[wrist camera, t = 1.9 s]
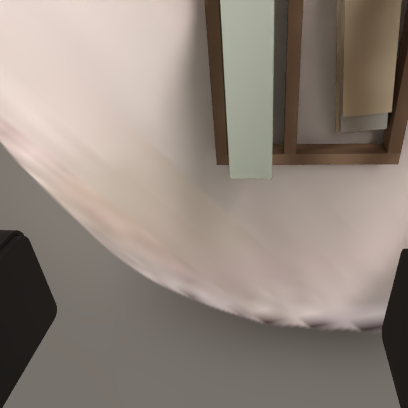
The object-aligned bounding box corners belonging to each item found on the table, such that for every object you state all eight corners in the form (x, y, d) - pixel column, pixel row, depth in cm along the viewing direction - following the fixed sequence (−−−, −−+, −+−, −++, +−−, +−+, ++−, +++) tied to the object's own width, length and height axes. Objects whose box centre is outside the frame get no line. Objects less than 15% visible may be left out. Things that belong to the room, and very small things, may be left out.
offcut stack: (398, -73, 26) (411, -75, 24) (383, 122, 34) (392, 136, 31) (336, -61, 27) (343, -61, 25) (335, 127, 34) (339, 141, 32)
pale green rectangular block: (275, -57, 27) (274, -57, 20) (272, 128, 35) (271, 178, 28) (233, -53, 28) (217, -51, 21) (239, 129, 36) (230, 178, 28)
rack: (447, -123, 24) (460, -128, 23) (392, 153, 35) (398, 164, 33) (202, -93, 27) (197, -96, 25) (219, 154, 37) (216, 164, 36)
